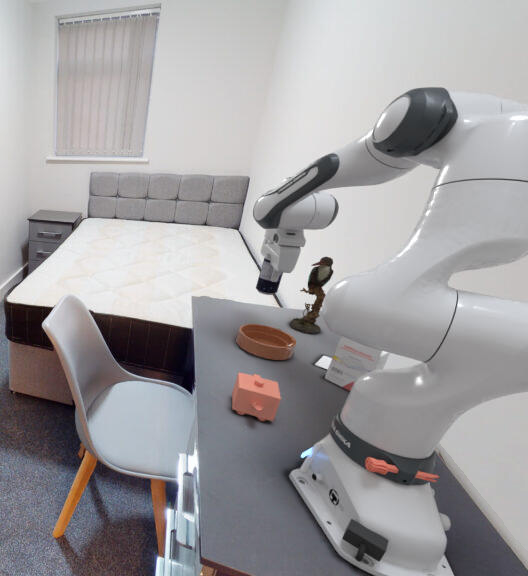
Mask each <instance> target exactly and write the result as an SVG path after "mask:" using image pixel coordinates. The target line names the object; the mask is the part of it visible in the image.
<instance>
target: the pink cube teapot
mask: <svg viewBox="0 0 528 576" xmlns="http://www.w3.org/2000/svg"><path fill="white" fill-rule="evenodd" d="M231 394H232V396H231V399H232V400H231V402H232V403H231V404H232V406H231V407H232V408H231V409H232V410H233V411H236V413H237V414H238V415H241V416H244V415H250V416H253V417H256V418H257V420H258V421H261V422H266V421H270V422H274V420H275V417H276V414H277V412H278V410H279V407H280V404H281V401H282V397H281V390H280V387H279V382H278V381H275V380H271V379H267V378H263V377H261V375H260V374H257V373H256V374H255V373H253V374H252V375H251V374H247V373H243V372H240V371H238V372H237V375H236V379H235V382H234V386H233V389H232V393H231Z"/></svg>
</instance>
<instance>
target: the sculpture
mask: <svg viewBox="0 0 528 576" xmlns="http://www.w3.org/2000/svg"><path fill="white" fill-rule="evenodd" d="M333 264H334V259H333V258H332V257H329V256H324V257H321V258H320V260H319V261H318V262H315V263H312V264H311V265H310V266H311V267H313V268H312V269H311V271H310V273H309V275H308V279H307V289H306V288H305V287H303V288H302V289H300V290H299V292H302V293H303V292H304V293H305V294H308V295H312V296H314V295H315V297H316V298H315V300H314V301H313V302H314V303H307V302H304V306H305V308H304V310H303V312H302V315H303V316H302V317H299V318H298V317H296V318H293V319H291V320H290V322H289V323H288V325H289V326H290V327H292V328H293V329H294V330H297V331H299V332H303V333H306V334H311V335H314V334H318V333H320V332H321V327H320V326H319V325H318V324H316V322H317V319H318V318H320V316H321V315H320V311H321V310H322V304H323V300H324V298H325V295H326V294H327V293H325V290H324V289H323V287H324V286H326V285H327V284H328V282H329V281H330V280H331V279H332V277H333V275H334V270H333V267H332V266H333ZM310 309H311V310H310ZM305 311H307V312H306V314H305Z"/></svg>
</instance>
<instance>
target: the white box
mask: <svg viewBox="0 0 528 576" xmlns="http://www.w3.org/2000/svg"><path fill="white" fill-rule="evenodd" d="M332 358H333V357H330V356H327V355H323V356H322V357H321V358H320V359H318V360H317V361H316V363H314V365H315V366H317V367H319V368H323V369H325V370H328V368H329V365H330V363H331V360H332Z"/></svg>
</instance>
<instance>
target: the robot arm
mask: <svg viewBox="0 0 528 576" xmlns="http://www.w3.org/2000/svg"><path fill="white" fill-rule="evenodd" d="M420 165H423V166H428V167H431V168H433V169H436V170H439V171H438V173H437V176H436V177H435V179H434V182H433V184H432V187H431V189H430V192H429V194H428V198H427V200H426V202H425V205H424V207H423V210H422V212H421V215H420V217H419V219H418V221H417V223H416V225H415V227H414V229H413V231H412V233H411V235H410V236H409V238H408V239H407V241H406V242H405V243H404V244H403V245H402V246H401V247H400V248H399V250H398V251H396V252H395V253H394V254H393V255H392V256H390V257H389V258H387V259H386V260H385V261H383V262H381V263H379V264H378V265H376V266H373V267H371V268H369V269H367V270H364V271H361V272H358V273H355V274H351V275H349V276H345V277H344V278H342V279H340V280H339V281H337V282H336V283H334V284H333V285H332V286H331V287H330V288H329V290H328V291H327V293H325V294H326V295H325V298H324V300H323V304H322V307H321V313H322V319H323V321H324V323H325V325H326V327H327V328H328V329H329V331H331V332H332V333H334V334H337V335H339V336H341V337H342V336H343V337H345V338H347V339H350V340H352V341H354V342H357V343H359V344H362V345H364V346H367V347H371V348H375V349H378V350H382V351H386V352H389V353H390V354H393V355H396V356H400V357H404V358H407V359H412V360H415V361H419V363H416V364H415V365H414V364H413V365H411V366H407V367H401V368H383V369H379V370H374V371H371V372H368V373H366V374H364V375H362V376H360V377H359V378H358V379H357V380H356V381H355V382H354V385H353V387H352V389H351V391H349V393H348V396H347V397H346V400H345V402H344V404H343V407H342V408H341V409H339V410H338V411H337V412H336V415H335V416H334V417H333V418H332V420H331V424H330V427H329V433H328V434H327V435H326V436H324V437H323V438H321V439H320V440H319V441H317V442H316V443H315V444H314V445H313V446H312V447H310V448H309V449H307V450H305V451H303V452H302V453H301V455H300V458H302V459H303V458H305V457H306V458H305V459H304V461H303V463H302V464H301V466H300V467H299V468H295V469H293V470H291V471H290V473H289V474H288V477H289V480H290V482H292V484H293V486H294V487H295V489H296V491H297V492H298V494H299V495H300V497H301V499H302V500H303V501H304V503H305V504H306V506H307V508H308V510H309V511H310V512H311V514H312V516H313V517H314V519H315V520H316V522H317V524H318V525H319V527H321V530H322V531H323V533H324V535H326V538H327V540H328V541H329V542H330V544H331V545H332V547H333V549H334V550H335V551H336V552H337V554H338V555H339V556H340V557H341V558H342V559H344V560H345V561H347V562H348V563H350V564H352V565H353V566H355V567H357V568H359V569H360V570H362V571H364V572H366V573H368V574H371V575H372V576H455V574H454V572H453V570H452V568H451V566H450V563H449V562H448V559H447V557H446V555H445V552H446V549H447V543H448V538H447V535H446V532H448V531H450V529H451V526H452V525H451V524H452V523H451V519H450V517H449V516H448V515H446V514H444V513H441V512H439V510H438V506H437V501H436V498H435V495H436V493H435V489H434V488H433V487H431V483H430V482H433V483H437V480H436V479H440V475H437V474H433V473H434V468H435V466H436V449H437V447H438V445H439V443H440V442H441V440H442V439H443V438H444V436H445V435H446V433H447V432H448V431H449V430H450V428H451V427H452V426H453V424H454V423H455V422H456V421H457V420H458V419H459V418H461V416H463V415H464V414H465V413H467V412H469V411H470V410H473V408H475V407H477V406H480V405H483V404H484V403H488V402H490V401H493V400H496V399H499V398H503V397H507V396H510V395H511V396H512V395H516V394H522V393H528V301H527V302H526V301H522V300H515V299H512V298H511V299H510V298H506V297H505V298H504V297H499V296H495V295H489V294H484V293H478V292H472V291H466V290H462V289H456V288H454V287H451V286H449V281H450V279H451V277H452V276H453V275H454V274H457V273H461V272H462V273H463V272H468V271H475V270H481V269H488V268H496V267H500V266H504V265H509V264H512V263H514V262H518V261H520V260H521V259H524V258H525V257H526V256H528V103H526V102H522V101H518V100H514V99H510V98H505V97H500V96H497V95H495V94H492V93H484V92H479V91H478V92H476V91H469V90H455V89H447V88H445V87H441V86H439V87H437V86H431V87H430V86H426V87H417V88H416V87H415V88H412V89H409V90H408V91H406V92H404V93H402V94H401V95H399V96H398V97H396V98H395V99H394V100H392V101H391V102H390V103H389V104H388V105H387V106H386V108H385V109H384V110H383V111H382V112H381V114H380V115H379V117H378V119H377V120H376V122H375V124H374V126H372V127H371V128H370V129H369V130H368V131H367V132H365V133H363V134H362V135H360V136H359V137H357V138H356V139H354V140H353V141H352V142H350V143H348V144H346V145H344V146H343V147H340V148H339V149H336V150H334V151H332V152H331V153H328V154H325V155H324V156H321V157H319V158H317V159H315V160H314V161H313V162H311V163H309V164H308V165H306V166H305V167H304V168H303V169H301V170H299V171H298V172H297V173H295V174H294V175H292V176H289V177H286V178H284V179H283V180H282V182H281V183H280V185H279V186H277V187H275V188H273V189H270V190H267V191H266V192H265V193H262V195H261V196H260V197H259V198H258V199H257V200H256V201H255V203H254V206H253V209H252V217H253V220H254V221H255V222H256V224H257V225H259V227H260V228H262V229H263V230H265V232H264V239H263V242H262V245H261V248H260V255H261V256H262V257H263V259H264V258H265V257H266V256H267V254H268V255H269V256H271V260H270V264H271V265H272V266H273V267H274V268H273V270H274V271H273V273H272V274H271V276H270V280H271V281H272V282H277V281H278V279H279V276H280V275H281V274H282V272H283V274H291V273H292V272H293V271H294V270H295V268H296V265H297V263H298V260H299V258H300V254H301V251H302V248H304V247H305V245H306V243H307V240H306V236H305V233H304V232H305V231H304V230H309V231H314V230H315V231H316V230H324V229H326V228H328V227H329V226H330V225H332V224H333V222H335V220H336V218H337V216H338V213H339V209H340V206H339V201H338V200H337V199H336V197H335V196H334V195H332V194H329V193H327V192H326V191H327V190H331V189H339V188H351V187H368V186H378V185H382V184H385V183H388V182H391V181H393V180H396V179H399V178H400V177H403V176H405V175H407V174H408V173H410V172H412V171H413V170H414V169H416V168H417V167H419V166H420Z"/></svg>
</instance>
